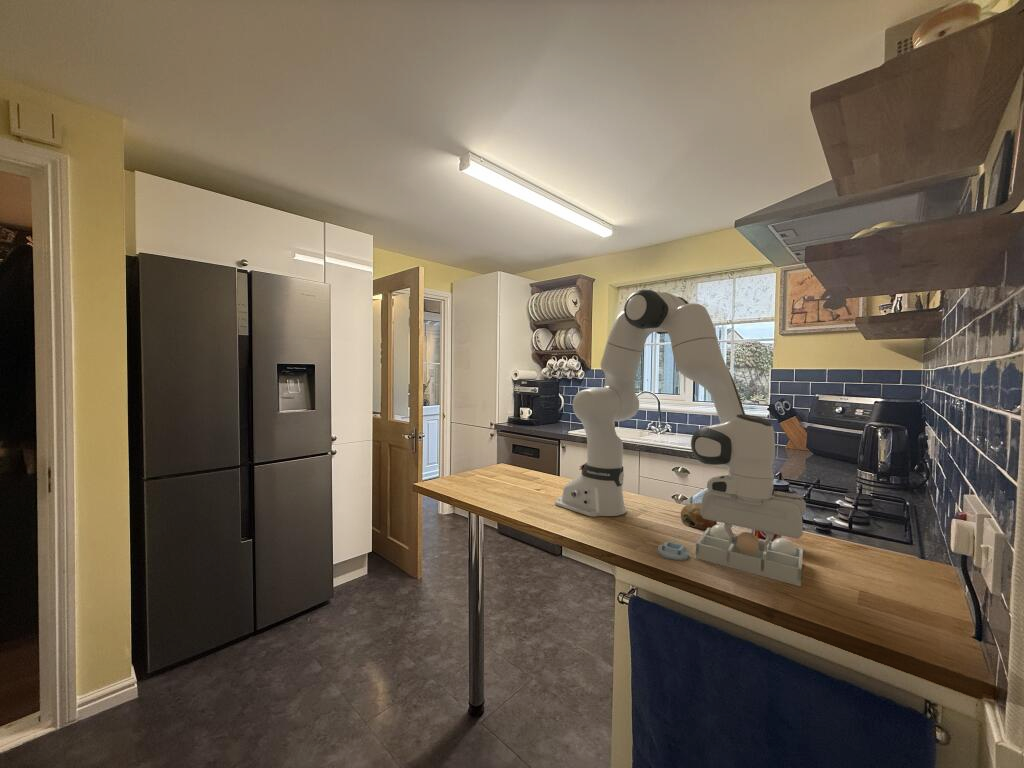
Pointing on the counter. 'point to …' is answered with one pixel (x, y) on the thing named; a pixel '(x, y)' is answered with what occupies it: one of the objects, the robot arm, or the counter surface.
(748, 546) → the brown egg
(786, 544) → the white egg right
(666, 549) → the eggcup
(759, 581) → the counter surface
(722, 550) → the carton
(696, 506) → the bread roll
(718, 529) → the white egg left
